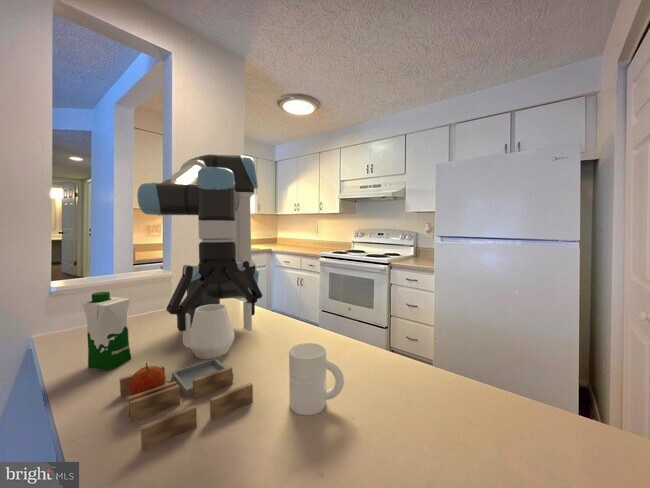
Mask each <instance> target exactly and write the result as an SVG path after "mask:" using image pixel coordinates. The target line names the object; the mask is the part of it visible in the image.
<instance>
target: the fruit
mask: <svg viewBox="0 0 650 488" xmlns="http://www.w3.org/2000/svg"><path fill="white" fill-rule="evenodd" d="M133 374H134V375H133V377H132V379H131V381H130V385H129V389H130V393H131V394H130V396H132V395H135V394H138V393H141V392H144V391H147V390H150V389H153V388H156V387H159V386H162V385H165V384H166V374H164V372H163V370H162V369H161V368H160V366H157V365H148V362H145V366H143V367H141V368H140V369H138V370H137V371H136V372H134V373H133Z"/></svg>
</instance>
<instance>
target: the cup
mask: <svg viewBox="0 0 650 488" xmlns="http://www.w3.org/2000/svg"><path fill="white" fill-rule="evenodd" d="M234 340H235V332H234V329H233V325H232V322H231V318H230V315H229V312H228V308H227V306H226V305H225V304H221V303H220V304H209V305H203V306H200V307H198V308H196V310H195V313H194V317H193V322H192V326H191V347H189V348H190V350H191V351H192V352H193V354H194V355H195V356H196V358H198V357H199V359H203V360H212V359H217V358H220V357H222V356H224V355H225V354H226V353H228V352H229V349H230V348H231V346H232V344H233V342H234Z"/></svg>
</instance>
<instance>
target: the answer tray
mask: <svg viewBox="0 0 650 488" xmlns="http://www.w3.org/2000/svg"><path fill="white" fill-rule="evenodd" d="M225 368H227V367H226V366H225V365H224V364H223V363H222V362H221V361H219V360H218V359H217V358H211V359H208V360H206V361H202V362H200V363H196V364H193V365H190V366H187V367H184V368H180V369H177V370H174V371H172V372H171V379H172V380H173V382H174V381H176V382H177V385H179V386H180V391H182V393H183V394H184V396H185V397H186V398H188V397H190V396H193V379H196V378H199V377H202V376H205V375H208V374H211V373H213V372H216V371H219V370H222V369H225ZM233 380H234V372H232V381H233Z"/></svg>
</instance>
